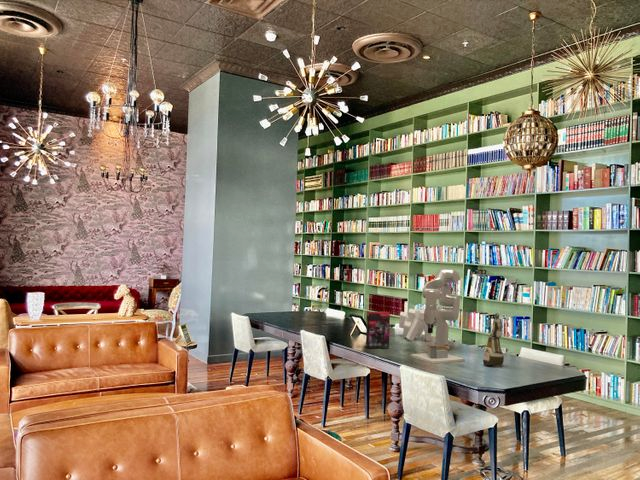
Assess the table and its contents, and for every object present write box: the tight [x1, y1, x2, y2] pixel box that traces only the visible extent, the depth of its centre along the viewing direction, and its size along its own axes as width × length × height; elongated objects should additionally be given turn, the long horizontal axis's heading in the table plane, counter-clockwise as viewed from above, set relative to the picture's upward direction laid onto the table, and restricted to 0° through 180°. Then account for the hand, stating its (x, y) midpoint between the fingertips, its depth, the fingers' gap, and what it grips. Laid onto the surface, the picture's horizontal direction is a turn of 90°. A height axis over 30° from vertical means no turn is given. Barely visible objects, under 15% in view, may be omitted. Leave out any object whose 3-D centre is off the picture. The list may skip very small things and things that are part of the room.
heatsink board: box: [410, 344, 466, 365], centre depth 350 cm, size 28×24×10 cm
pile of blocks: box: [398, 308, 433, 342], centre depth 429 cm, size 35×30×35 cm
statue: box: [482, 312, 505, 367], centre depth 336 cm, size 16×11×35 cm, turn 118°
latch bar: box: [427, 344, 450, 350], centre depth 350 cm, size 18×3×3 cm, turn 120°
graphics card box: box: [365, 310, 391, 349], centre depth 381 cm, size 17×7×27 cm, turn 101°
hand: (430, 332), depth 359 cm, fingers closed
